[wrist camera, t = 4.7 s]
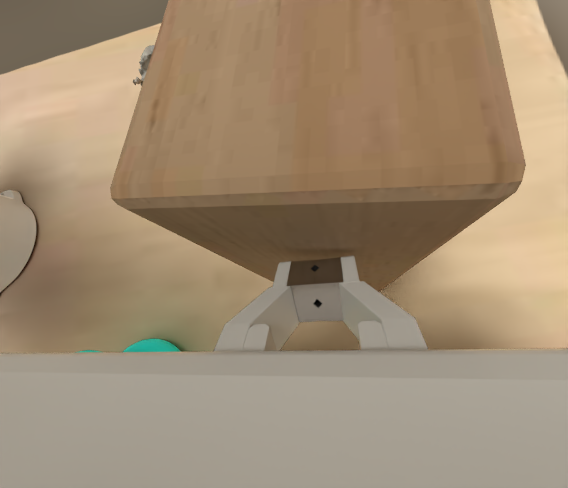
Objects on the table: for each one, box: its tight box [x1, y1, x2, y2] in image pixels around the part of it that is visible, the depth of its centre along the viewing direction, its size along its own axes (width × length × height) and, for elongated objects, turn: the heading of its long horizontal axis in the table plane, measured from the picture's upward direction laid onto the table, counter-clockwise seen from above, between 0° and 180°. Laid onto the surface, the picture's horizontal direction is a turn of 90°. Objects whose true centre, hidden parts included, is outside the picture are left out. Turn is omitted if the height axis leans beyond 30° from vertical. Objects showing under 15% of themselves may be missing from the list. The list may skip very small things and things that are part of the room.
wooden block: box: [110, 0, 526, 291], centre depth 16 cm, size 10×10×20 cm
